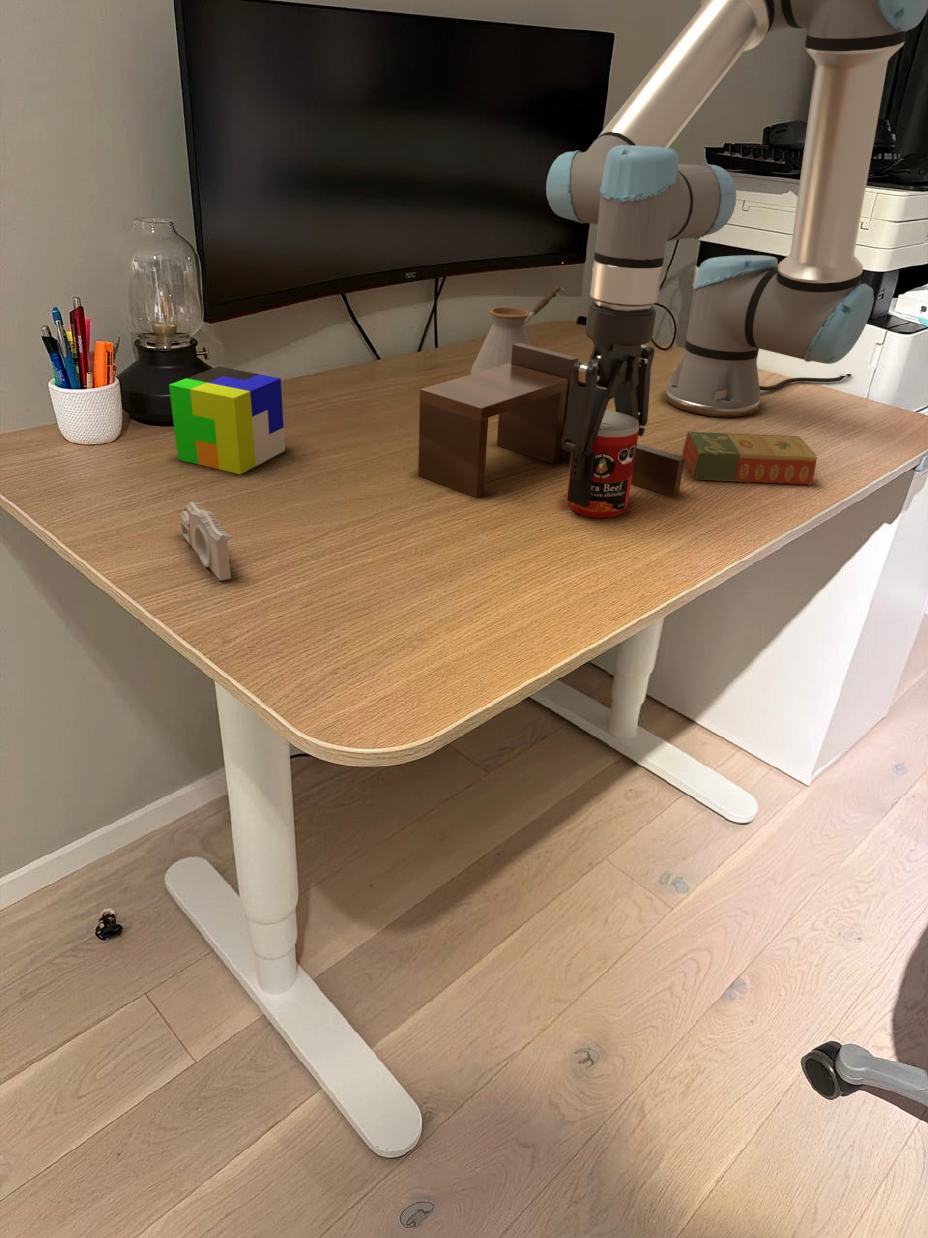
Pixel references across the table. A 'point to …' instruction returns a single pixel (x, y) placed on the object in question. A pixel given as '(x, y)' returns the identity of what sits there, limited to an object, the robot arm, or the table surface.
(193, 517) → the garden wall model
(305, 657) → the table surface
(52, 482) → the table surface
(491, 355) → the coffee pot
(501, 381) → the step shelf
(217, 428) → the puzzle toy
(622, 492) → the canned food
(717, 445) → the carton
